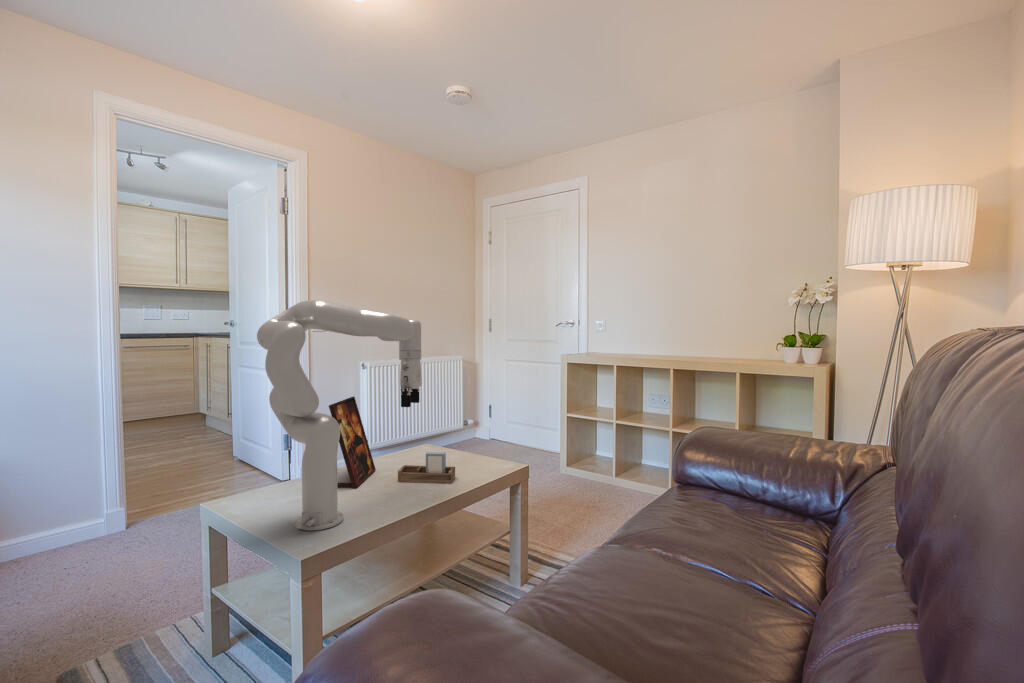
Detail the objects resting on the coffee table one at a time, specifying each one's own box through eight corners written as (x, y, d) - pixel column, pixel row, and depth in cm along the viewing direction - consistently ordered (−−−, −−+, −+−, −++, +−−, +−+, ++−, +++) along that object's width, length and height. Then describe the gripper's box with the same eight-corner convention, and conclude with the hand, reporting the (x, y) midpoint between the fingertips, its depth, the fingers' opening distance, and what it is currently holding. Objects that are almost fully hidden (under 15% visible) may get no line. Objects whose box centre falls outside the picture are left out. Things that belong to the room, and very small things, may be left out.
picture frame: (357, 488, 163) (356, 404, 163) (327, 488, 163) (327, 404, 163) (375, 471, 184) (375, 396, 184) (349, 470, 184) (349, 396, 184)
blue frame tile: (444, 478, 171) (444, 454, 171) (425, 477, 172) (425, 453, 172) (445, 476, 173) (445, 452, 173) (427, 475, 174) (427, 452, 174)
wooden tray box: (450, 483, 169) (450, 472, 168) (397, 481, 170) (397, 470, 170) (455, 477, 175) (455, 466, 175) (404, 476, 177) (404, 465, 177)
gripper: (413, 356, 150) (413, 409, 151) (427, 354, 168) (428, 401, 168) (390, 356, 151) (391, 408, 151) (407, 354, 168) (408, 401, 169)
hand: (410, 404), depth 160 cm, fingers open, 9 cm apart
